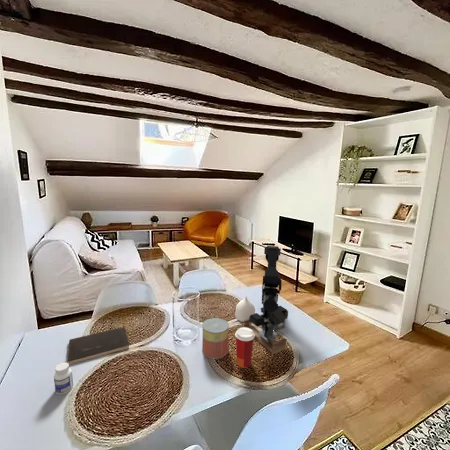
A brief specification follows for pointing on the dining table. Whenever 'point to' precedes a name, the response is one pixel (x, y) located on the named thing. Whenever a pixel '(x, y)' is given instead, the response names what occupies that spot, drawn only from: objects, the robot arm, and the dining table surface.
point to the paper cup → (244, 346)
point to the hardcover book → (97, 344)
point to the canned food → (215, 338)
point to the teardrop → (244, 310)
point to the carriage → (268, 333)
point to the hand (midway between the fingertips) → (268, 332)
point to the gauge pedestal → (278, 326)
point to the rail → (274, 344)
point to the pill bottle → (63, 378)
